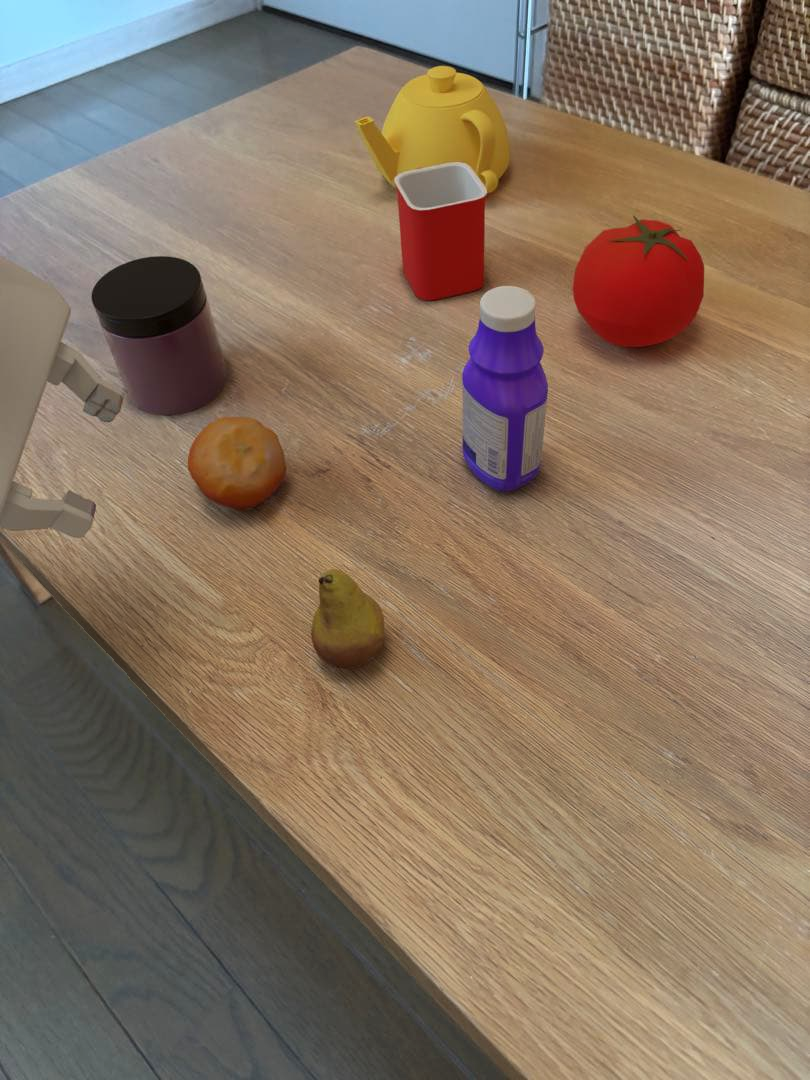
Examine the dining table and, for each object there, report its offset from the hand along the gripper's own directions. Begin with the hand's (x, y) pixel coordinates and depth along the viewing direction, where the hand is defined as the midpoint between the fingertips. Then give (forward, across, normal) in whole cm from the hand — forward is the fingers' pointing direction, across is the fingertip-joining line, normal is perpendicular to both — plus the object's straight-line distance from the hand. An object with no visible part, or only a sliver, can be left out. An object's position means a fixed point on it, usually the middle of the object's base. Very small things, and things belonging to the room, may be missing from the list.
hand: (105, 462), depth 50 cm
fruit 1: (+16, +16, +12) cm, 26 cm away
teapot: (+31, +68, -3) cm, 75 cm away
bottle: (+32, +17, -4) cm, 37 cm away
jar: (+11, +32, +18) cm, 38 cm away
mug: (+30, +49, -2) cm, 57 cm away
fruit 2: (+23, -1, +6) cm, 24 cm away
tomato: (+43, +35, -15) cm, 58 cm away
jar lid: (+3, +32, +10) cm, 34 cm away
